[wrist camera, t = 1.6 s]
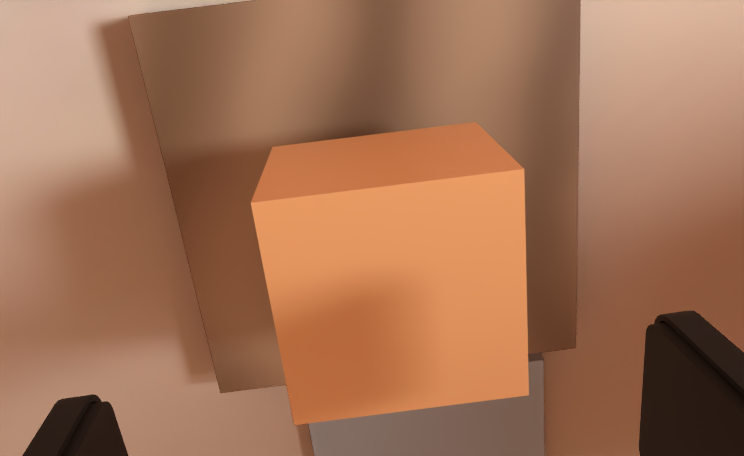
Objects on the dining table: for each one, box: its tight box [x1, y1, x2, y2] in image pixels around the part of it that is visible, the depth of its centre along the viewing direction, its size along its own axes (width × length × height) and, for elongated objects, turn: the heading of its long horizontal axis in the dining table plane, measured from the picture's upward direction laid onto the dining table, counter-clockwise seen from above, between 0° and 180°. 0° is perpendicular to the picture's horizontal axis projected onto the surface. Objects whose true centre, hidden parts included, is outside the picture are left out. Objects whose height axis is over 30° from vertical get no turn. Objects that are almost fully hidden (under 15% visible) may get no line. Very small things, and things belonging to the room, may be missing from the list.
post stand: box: [128, 0, 580, 393], centre depth 19 cm, size 14×14×8 cm
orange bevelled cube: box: [251, 122, 529, 425], centre depth 17 cm, size 6×6×5 cm
